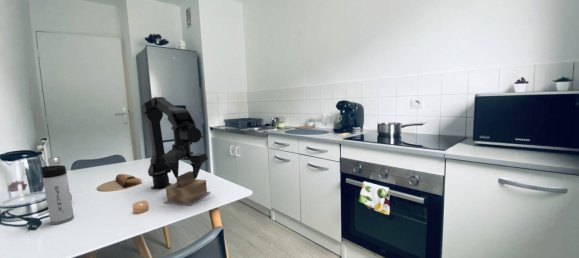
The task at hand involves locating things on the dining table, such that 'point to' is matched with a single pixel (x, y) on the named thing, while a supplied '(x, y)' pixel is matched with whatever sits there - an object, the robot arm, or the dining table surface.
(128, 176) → the brown slipper
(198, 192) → the cover
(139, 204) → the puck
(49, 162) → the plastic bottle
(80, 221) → the dining table surface
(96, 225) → the dining table surface
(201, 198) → the mat
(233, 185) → the dining table surface
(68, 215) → the travel mug
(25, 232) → the dining table surface
